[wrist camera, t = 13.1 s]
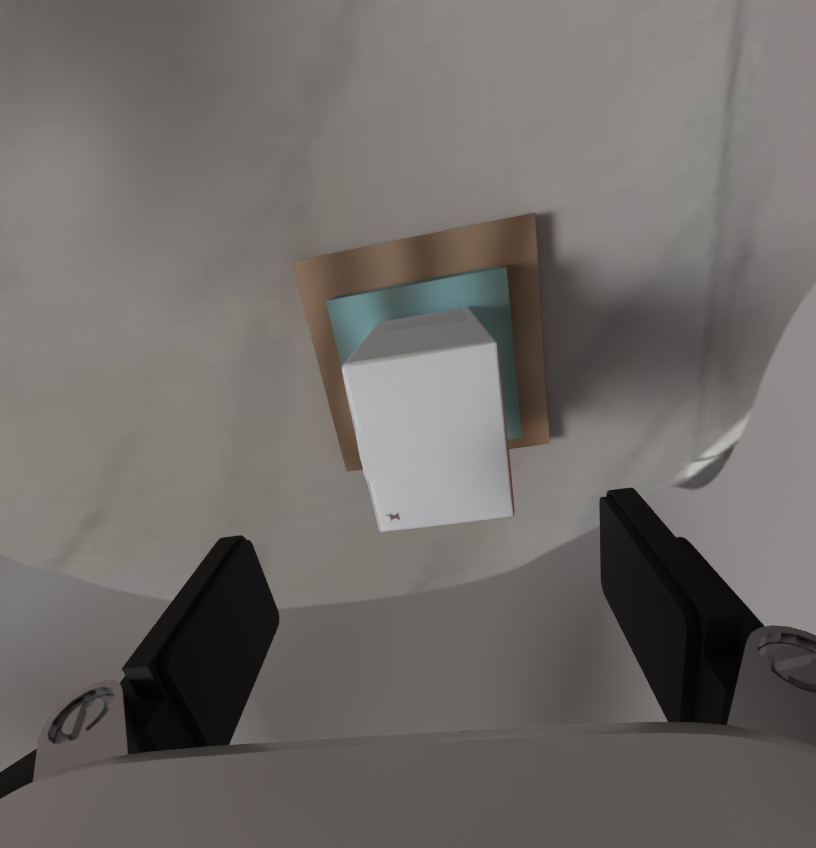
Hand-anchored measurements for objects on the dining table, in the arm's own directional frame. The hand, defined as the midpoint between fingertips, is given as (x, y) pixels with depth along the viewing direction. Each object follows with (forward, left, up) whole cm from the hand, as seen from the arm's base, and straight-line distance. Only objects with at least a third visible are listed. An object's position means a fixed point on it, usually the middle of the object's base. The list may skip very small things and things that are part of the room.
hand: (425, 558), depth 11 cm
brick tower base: (0, 0, -26) cm, 26 cm away
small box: (0, 0, -20) cm, 20 cm away
